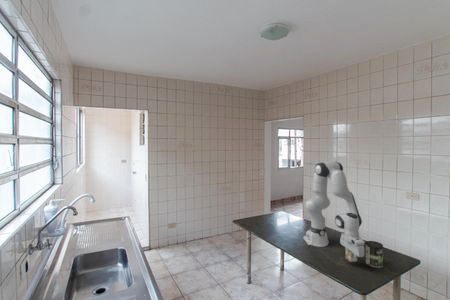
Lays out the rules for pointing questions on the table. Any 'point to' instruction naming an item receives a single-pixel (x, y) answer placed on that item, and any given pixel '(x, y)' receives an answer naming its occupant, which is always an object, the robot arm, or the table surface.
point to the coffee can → (374, 254)
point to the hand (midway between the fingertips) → (351, 256)
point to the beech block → (350, 256)
